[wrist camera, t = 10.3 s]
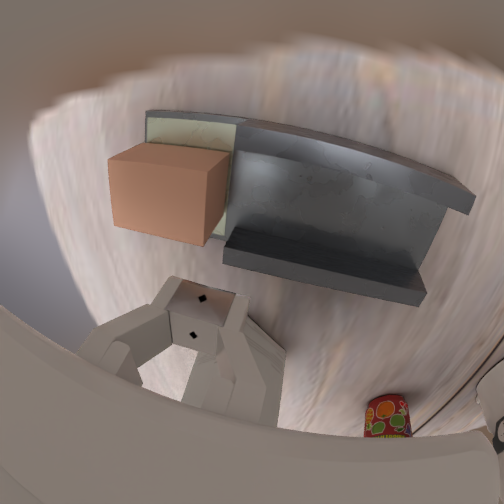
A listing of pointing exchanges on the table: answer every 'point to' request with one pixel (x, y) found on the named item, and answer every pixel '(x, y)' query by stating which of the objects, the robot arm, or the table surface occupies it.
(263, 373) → the skincare box
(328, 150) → the chute
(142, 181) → the block
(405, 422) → the smoothie
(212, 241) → the table surface
